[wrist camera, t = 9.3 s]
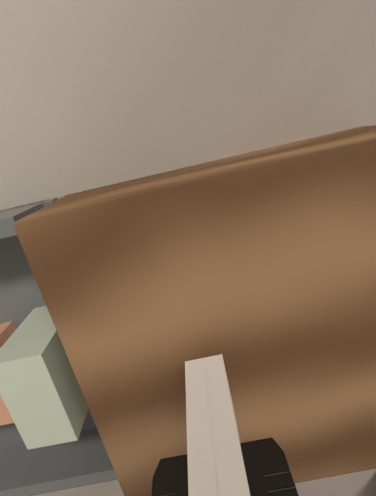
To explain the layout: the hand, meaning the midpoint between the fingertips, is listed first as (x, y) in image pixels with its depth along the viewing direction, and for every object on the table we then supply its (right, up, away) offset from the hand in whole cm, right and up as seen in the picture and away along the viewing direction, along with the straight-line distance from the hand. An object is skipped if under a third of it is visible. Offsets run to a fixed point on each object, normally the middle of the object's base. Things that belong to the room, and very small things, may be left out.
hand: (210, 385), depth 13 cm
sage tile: (-7, -1, +4) cm, 8 cm away
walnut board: (+2, +3, +7) cm, 7 cm away
